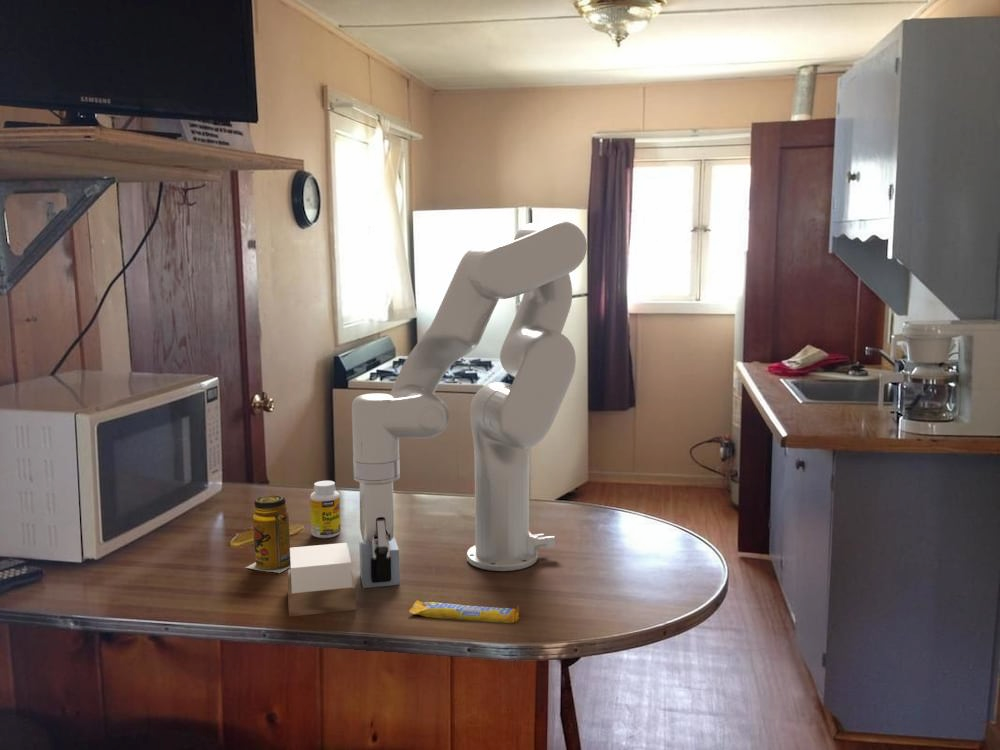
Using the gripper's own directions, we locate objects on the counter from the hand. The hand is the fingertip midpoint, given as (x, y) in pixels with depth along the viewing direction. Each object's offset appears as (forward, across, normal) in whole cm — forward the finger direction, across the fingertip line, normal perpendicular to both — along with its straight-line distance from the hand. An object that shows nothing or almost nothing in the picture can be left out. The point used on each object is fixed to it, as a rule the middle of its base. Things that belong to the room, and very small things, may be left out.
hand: (379, 572), depth 143 cm
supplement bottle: (+1, -25, -8) cm, 26 cm away
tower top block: (-2, +6, -10) cm, 12 cm away
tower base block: (+2, +6, -10) cm, 12 cm away
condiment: (+1, -12, -17) cm, 21 cm away
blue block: (+1, 0, 0) cm, 1 cm away
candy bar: (+2, +17, +11) cm, 21 cm away
